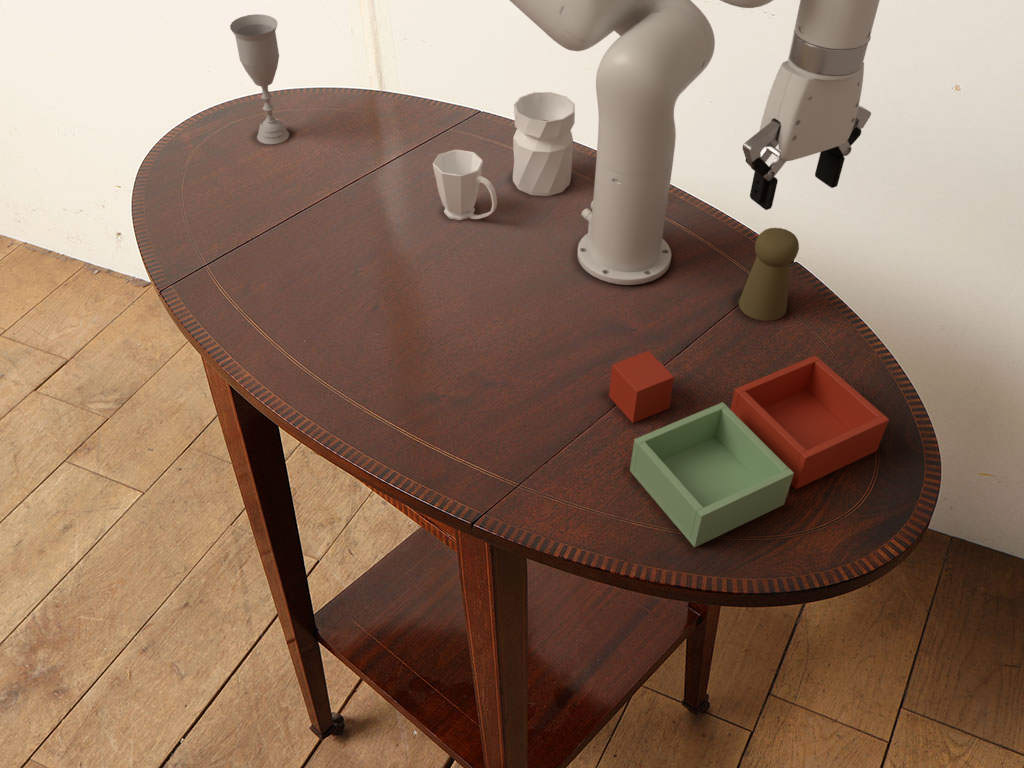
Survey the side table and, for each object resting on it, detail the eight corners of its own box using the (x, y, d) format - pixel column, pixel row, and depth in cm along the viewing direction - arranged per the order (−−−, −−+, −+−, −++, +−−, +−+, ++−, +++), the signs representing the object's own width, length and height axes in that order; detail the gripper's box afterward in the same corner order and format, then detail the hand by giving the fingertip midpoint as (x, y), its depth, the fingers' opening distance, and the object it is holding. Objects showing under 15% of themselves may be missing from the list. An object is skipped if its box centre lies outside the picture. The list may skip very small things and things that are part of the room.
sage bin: (629, 470, 106) (634, 439, 102) (715, 433, 110) (722, 401, 107) (694, 547, 99) (701, 516, 95) (784, 504, 103) (794, 473, 99)
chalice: (253, 125, 158) (232, 15, 146) (296, 123, 159) (279, 13, 146) (249, 148, 153) (227, 36, 140) (293, 146, 153) (276, 34, 141)
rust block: (608, 396, 114) (612, 364, 111) (644, 382, 116) (648, 350, 112) (632, 423, 111) (637, 391, 108) (669, 408, 113) (674, 376, 109)
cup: (455, 192, 145) (454, 143, 139) (510, 216, 140) (511, 166, 135) (424, 213, 140) (421, 164, 135) (480, 239, 136) (479, 189, 131)
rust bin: (727, 420, 112) (734, 388, 108) (805, 386, 116) (815, 355, 112) (795, 489, 104) (805, 458, 101) (876, 451, 108) (889, 419, 105)
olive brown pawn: (780, 290, 129) (798, 220, 121) (791, 320, 124) (810, 249, 117) (734, 291, 129) (749, 220, 121) (743, 321, 124) (760, 250, 117)
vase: (553, 202, 143) (557, 128, 135) (501, 185, 146) (502, 111, 138) (580, 174, 149) (586, 101, 140) (530, 158, 152) (532, 86, 143)
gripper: (864, 21, 108) (828, 159, 119) (738, 54, 102) (713, 196, 113) (915, 48, 103) (872, 189, 115) (786, 84, 97) (754, 229, 109)
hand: (793, 192), depth 114 cm, fingers open, 9 cm apart
